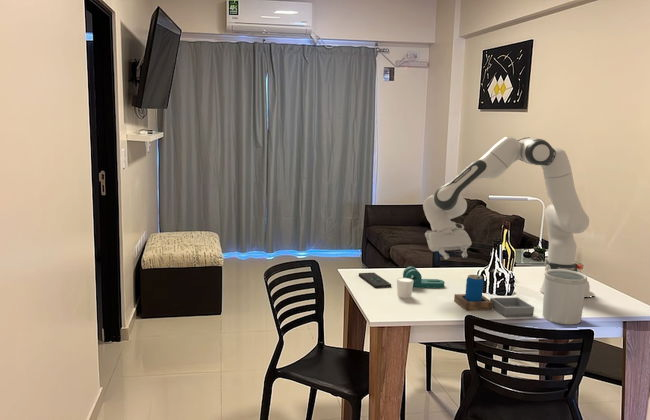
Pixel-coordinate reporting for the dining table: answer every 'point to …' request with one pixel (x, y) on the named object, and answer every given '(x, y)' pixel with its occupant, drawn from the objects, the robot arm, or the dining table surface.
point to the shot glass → (404, 287)
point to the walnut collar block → (473, 303)
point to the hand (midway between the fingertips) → (456, 257)
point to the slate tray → (512, 307)
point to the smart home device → (374, 280)
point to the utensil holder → (563, 296)
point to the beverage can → (474, 288)
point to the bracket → (418, 281)
